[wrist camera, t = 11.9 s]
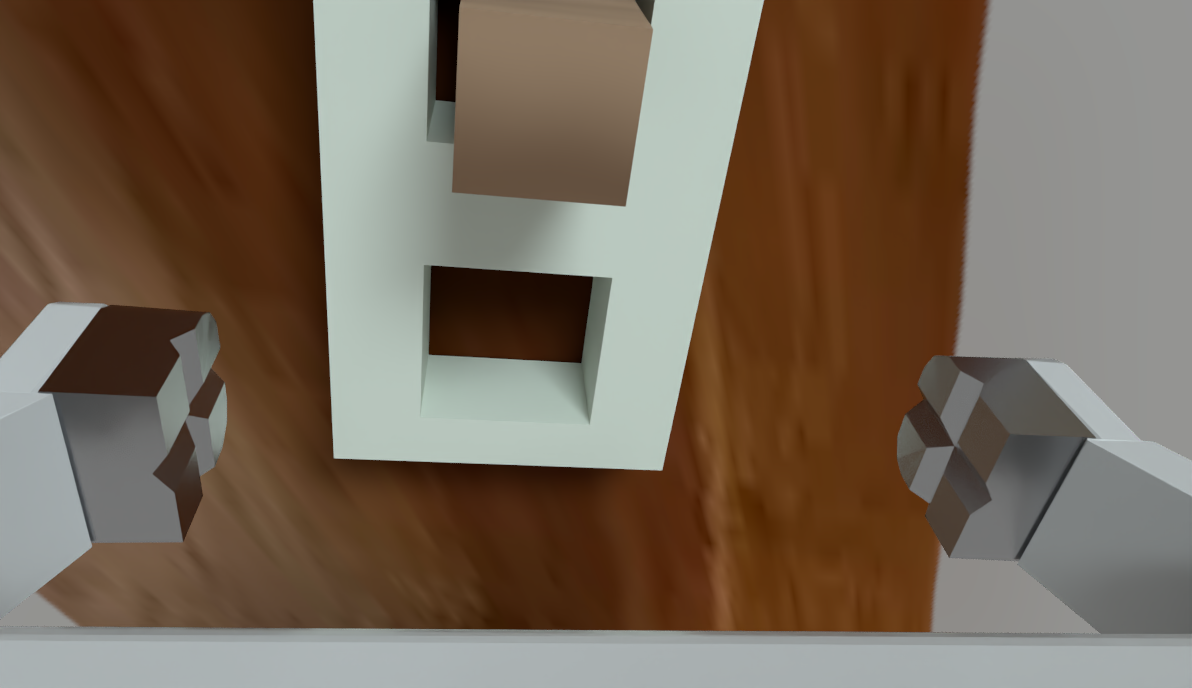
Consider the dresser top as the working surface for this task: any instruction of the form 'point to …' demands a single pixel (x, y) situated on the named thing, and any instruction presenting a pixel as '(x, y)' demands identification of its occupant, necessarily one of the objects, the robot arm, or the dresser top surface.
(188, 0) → the dresser top surface
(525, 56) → the wood grain block
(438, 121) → the socket board
